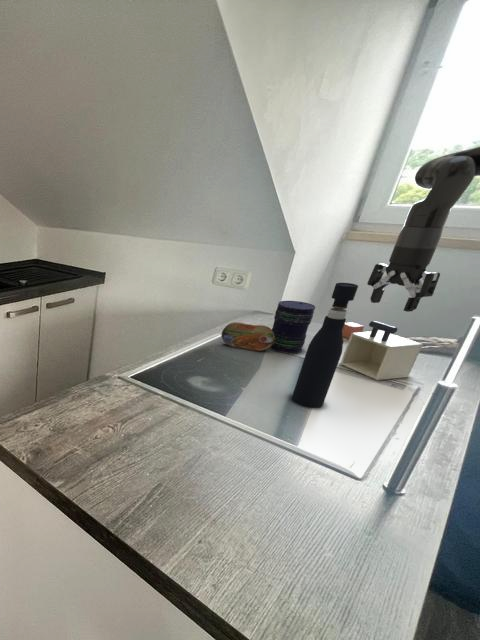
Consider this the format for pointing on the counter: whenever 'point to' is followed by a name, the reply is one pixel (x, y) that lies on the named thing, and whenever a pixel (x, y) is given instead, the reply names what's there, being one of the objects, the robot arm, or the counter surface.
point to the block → (351, 329)
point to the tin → (248, 336)
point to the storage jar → (291, 325)
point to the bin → (381, 353)
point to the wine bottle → (324, 351)
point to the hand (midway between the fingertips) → (390, 306)
